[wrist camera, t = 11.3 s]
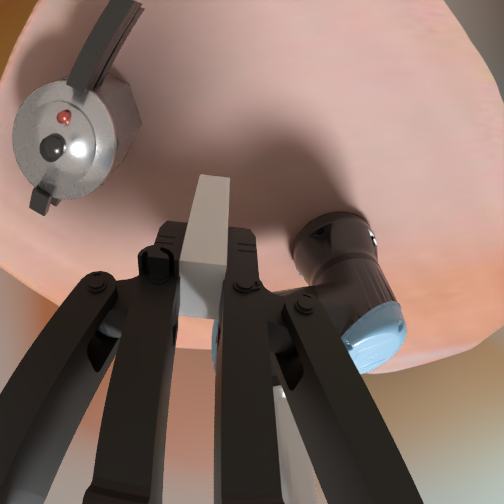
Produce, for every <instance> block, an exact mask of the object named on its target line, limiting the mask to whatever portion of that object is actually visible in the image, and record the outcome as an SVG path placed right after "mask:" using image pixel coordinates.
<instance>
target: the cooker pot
mask: <svg viewBox="0 0 504 504" xmlns="http://www.w3.org/2000/svg"><path fill="white" fill-rule="evenodd" d="M143 11H144V8H141V7H140V8H139V10H138V11H137V13H136V14H135V16H134V17H133V19H132V20H131V22H130V23H129V25H128V26H127V28H126V30H125V31H124V33H123V34H122V36H121V38H120V39H119V41H118V43H117V44H116V46H115V48H114V50H113V51H112V53H111V55H110V57H109V59H108V60H107V62H106V64H105V66H104V68H103V70H102V72H101V74H100V76H99V78H98V80H97V82H96V84H95V86H94V88H93V89H92V90H93V91H95V92H96V93H97V94H98V95H99V96H100V97H101V98H102V99H103V101H104V102H105V104H106V105H107V107H108V109H109V111H110V112H111V115H112V117H113V120H114V124H115V128H116V134H117V149H116V155H115V160H114V163H113V165H112V168H111V170H110V172H109V173H108V175H107V176H106V178H105V179H104V180H103V182H102V183H101V184H100V185H103V183H104V182H105V181H106V180H107V178H108V177H109V176H110V175H111V174H112V172H113V171H114V170H115V169H116V168H117V166H118V165H119V164H120V163H121V162H122V160H123V159H124V158H125V156H126V154H127V152H128V150H129V147H130V145H131V143H132V141H133V139H134V137H135V135H136V133H137V131H138V129H139V128H140V126H141V121H140V118H139V114H138V111H137V108H136V105H135V101H134V98H133V94H132V91H131V88H130V85H129V84H127V83H125V82H123V81H121V80H119V79H117V78H115V77H112V76H110V75H108V74H107V73H108V71H109V69H110V67H111V65H112V63H113V61H114V60H115V58H116V56H117V54H118V52H119V50H120V49H121V47H122V45H123V43H124V41H125V40H126V38H127V36H128V35H129V33H130V31H131V30H132V28H133V26H134V25H135V23H136V22H137V20H138V18H139V17H140V15H141V14H142V12H143ZM68 78H69V76H66V77H63V78H61V79H60V80H68ZM60 80H58V81H60ZM100 185H99V186H100ZM60 201H61V199H58V198H54V197H52V198H51V202H50V203H51V204H52V205H54V206H57V205H58V204H59V203H60Z"/></svg>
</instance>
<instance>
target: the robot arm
mask: <svg viewBox="0 0 504 504" xmlns="http://www.w3.org/2000/svg"><path fill="white" fill-rule="evenodd" d="M229 194H230V178H228V177H220V176H211V175H202V174H200V177H199V180H198V184H197V188H196V192H195V196H194V200H193V204H192V208H191V212H190V216H189V221H188V223H183V222H174V221H166V222H165V223H164V224H163V225H162V226H161V227H160V229H159V232H158V234H157V237H156V240H155V243H154V245H151V246H148V247H146V248H144V249H142V250H141V251H140V252H139V254H138V266H139V275H138V276H137V277H134V278H131V279H127V280H119V281H116V280H115V278H114V277H113V276H112V275H111V274H109V273H107V272H103V271H97V272H92V273H90V274H87V275H86V276H85V277H84V278H82V279H81V281H80V282H79V283H78V284H77V285H76V287H75V288H74V289H73V290H72V292H71V293H70V294H69V295H68V297H67V298H66V299H65V301H64V302H63V303H62V304H61V306H60V307H59V308H58V310H57V311H56V312H55V314H54V315H53V316H52V318H51V319H50V321H49V322H48V323H47V324H46V326H45V327H44V329H43V330H42V331H41V333H40V334H39V336H38V337H37V338H36V340H35V341H34V343H33V344H32V346H31V347H30V348H29V350H28V351H27V353H26V354H25V356H24V357H23V359H22V360H21V362H20V363H19V365H18V367H17V368H16V370H15V371H14V373H13V374H12V376H11V377H10V379H9V381H8V383H7V384H6V386H5V387H4V389H3V391H2V392H1V394H0V504H43V503H44V501H45V499H46V497H47V494H48V492H49V490H50V487H51V485H52V483H53V480H54V478H55V476H56V473H57V471H58V469H59V466H60V464H61V462H62V460H63V457H64V456H65V453H66V451H67V449H68V447H69V445H70V443H71V440H72V438H73V436H74V434H75V432H76V430H77V428H78V426H79V424H80V422H81V420H82V418H83V416H84V414H85V412H86V410H87V408H88V406H89V404H90V402H91V400H92V398H93V396H94V394H95V392H96V391H97V389H98V387H99V385H100V383H101V381H102V379H103V377H104V375H105V374H106V372H107V370H108V368H109V366H110V364H111V362H112V361H113V359H114V357H115V355H116V358H115V361H114V366H113V370H112V374H111V378H110V383H109V388H108V392H107V397H106V402H105V406H104V412H103V417H102V423H101V428H100V433H99V440H98V445H97V453H96V459H95V466H94V474H93V480H92V483H91V485H90V486H89V487H88V489H87V490H86V492H85V495H84V497H83V503H82V504H162V491H163V490H162V489H163V471H164V456H165V441H166V429H167V418H168V406H169V397H170V388H171V379H172V370H173V362H174V354H175V346H176V339H177V332H178V315H179V316H186V317H195V318H205V319H214V323H213V329H212V360H213V362H214V369H215V373H216V377H215V417H214V504H317V494H316V485H315V475H314V471H315V473H316V475H317V478H318V480H319V483H320V485H321V488H322V490H323V493H324V495H325V498H326V500H327V503H328V504H423V501H422V499H421V497H420V494H419V492H418V490H417V488H416V486H415V484H414V481H413V479H412V477H411V475H410V473H409V471H408V469H407V467H406V464H405V462H404V460H403V458H402V456H401V454H400V452H399V450H398V448H397V446H396V444H395V442H394V440H393V438H392V436H391V434H390V432H389V430H388V428H387V426H386V424H385V422H384V420H383V418H382V416H381V414H380V412H379V410H378V408H377V406H376V404H375V402H374V400H373V398H372V396H371V394H370V392H369V390H368V388H367V386H366V385H365V383H364V381H363V379H362V377H361V375H360V374H363V373H366V372H368V371H371V370H373V369H375V368H377V367H379V366H380V365H382V364H383V363H385V362H386V361H387V360H389V359H390V358H391V357H392V356H393V355H394V354H395V353H396V352H397V351H398V350H399V349H400V347H401V346H402V344H403V342H404V340H405V338H406V333H407V326H406V323H405V320H404V317H403V314H402V311H401V306H400V304H399V303H398V302H397V300H396V298H395V296H394V294H393V292H392V290H391V288H390V286H389V284H388V282H387V280H386V278H385V276H384V274H383V272H382V270H381V268H380V266H379V264H378V255H377V243H376V238H375V236H374V233H373V232H372V230H371V228H370V226H369V225H368V224H367V222H366V221H365V220H363V219H362V218H361V217H359V216H357V215H355V214H351V213H346V212H335V213H330V214H326V215H323V216H321V217H318V218H316V219H315V220H313V221H311V222H310V223H309V224H308V225H306V226H305V227H304V228H303V229H302V231H301V232H300V233H299V235H298V236H297V238H296V240H295V243H294V247H293V257H294V262H295V266H296V268H297V271H298V272H299V274H300V275H301V276H302V277H303V279H304V280H305V281H306V282H307V284H308V285H309V286H307V287H301V288H295V289H288V290H282V291H276V292H270V291H269V290H267V289H266V288H265V287H264V286H263V284H262V282H261V281H260V279H259V272H258V260H257V249H256V237H255V236H254V234H253V233H252V231H251V230H250V229H244V228H235V227H228V217H229Z"/></svg>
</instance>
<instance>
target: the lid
mask: <svg viewBox="0 0 504 504" xmlns="http://www.w3.org/2000/svg"><path fill="white" fill-rule="evenodd" d="M141 5H142V4H141V3H139V2H137V1H134V0H110V2H109V3H108V5H107V6H106V8H105V10H104V11H103V13H102V15H101V16H100V18H99V20H98V21H97V23H96V25H95V26H94V28H93V30H92V32H91V34H90V35H89V37H88V39H87V41H86V43H85V45H84V47H83V49H82V50H81V52H80V54H79V56H78V59H77V61H76V63H75V65H74V67H73V69H72V71H71V73H70V76H69V78H68V80H60V81H54V82H51V83H48V84H45V85H43V86H41V87H39V88H37V89H36V90H34V91H33V92H32V93H31V94H30V95H29V96H28V97H27V98H26V99H25V100H24V102H23V103H22V105H21V106H20V108H19V110H18V112H17V115H16V118H15V121H14V126H13V134H12V139H13V149H14V154H15V157H16V160H17V163H18V165H19V167H20V169H21V171H22V173H23V174H24V176H25V177H26V178H27V180H28V181H29V182H30V183H31V184H32V185H33V186H34V187H35V188H34V189H33V191H32V196H31V201H30V206H29V208H31V209H32V210H34V211H36V212H38V213H39V214H41V215H43V216H45V215H46V214H47V212H48V210H49V206H50V202H51V198H52V197H54V198H58V199H66V200H69V199H77V198H80V197H83V196H86V195H87V194H89V193H91V192H92V191H94V190H95V189H96V188H97V187H98V186H99V185H100V184H101V183H102V182H103V180H104V179H105V178H106V176H107V175H108V173H109V172H110V170H111V168H112V165H113V163H114V160H115V155H116V149H117V134H116V128H115V124H114V120H113V117H112V115H111V112H110V111H109V109H108V107H107V105H106V104H105V102H104V101H103V99H102V98H101V97H100V96H99V95H98V94H97V93H96V92H95V91H93V90H92V89H93V88H94V86H95V84H96V82H97V80H98V78H99V76H100V74H101V72H102V70H103V68H104V66H105V64H106V62H107V60H108V59H109V57H110V55H111V53H112V51H113V50H114V48H115V46H116V44H117V43H118V41H119V39H120V38H121V36H122V34H123V33H124V31H125V30H126V28H127V26H128V25H129V23H130V22H131V20H132V19H133V17H134V16H135V14H136V13H137V11H138V10H139V8H140V7H141Z"/></svg>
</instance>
